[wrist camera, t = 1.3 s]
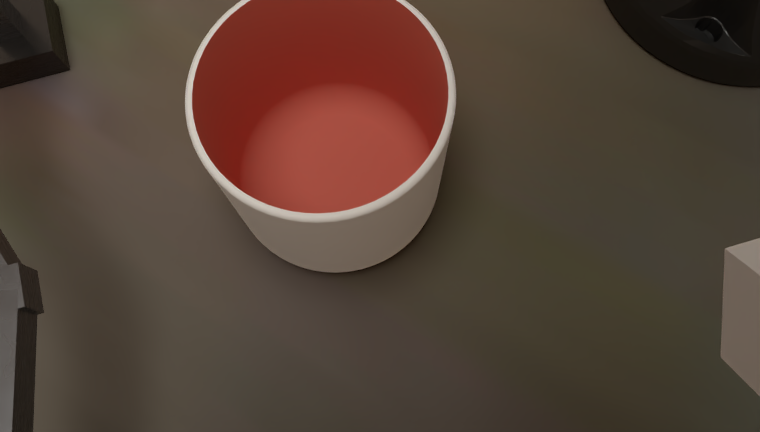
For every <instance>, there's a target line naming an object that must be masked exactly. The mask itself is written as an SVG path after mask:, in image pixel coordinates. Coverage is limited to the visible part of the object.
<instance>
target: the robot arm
mask: <svg viewBox="0 0 760 432" xmlns="http://www.w3.org/2000/svg"><path fill="white" fill-rule="evenodd" d="M605 1H606V3H607V5H608V6H609V8H610V10H611V11H612V13H613V15H614V16H615V17H616V19H617V20H618V22H619V23H620V24H621V25H622V27H623V28H624V29H625V30H626V31H627V32H628V33H629V34H630V36H631V37H632V38H633V39H635V40H636V41H637V42H638V43H639V44H640V45H641V46H642V47H644V48H645V49H646V50H647V51H649V52H650V53H651V54H653V55H654V56H656V57H657V58H659V59H660V60H662V61H664V62H665V63H667V64H669V65H671V66H673V67H674V68H676V69H679V70H681V71H683V72H685V73H688V74H690V75H693V76H696V77H699V78H702V79H705V80H709V81H713V82H717V83H722V84H728V85H737V86H760V0H605ZM721 358H722V359H723V360H724V361H725V362H726V363H727V364H728V365H729V366H730V367H731V368H732V369H733V370H734V371H735V372H736V373H737V374H738V375H739V376H740V377H741V378H742V379H743V380H744V381H745V382H746V383H747V384H748V385H749V386H750V387H751V388H752V389H753V390H754V391H755V392H756V393H757V394H758V395H759V396H760V238H758V239H755V240H752V241H748V242H745V243H741V244H738V245H735V246H731V247H728V248H725V257H724V282H723V307H722V333H721Z"/></svg>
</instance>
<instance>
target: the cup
mask: <svg viewBox="0 0 760 432" xmlns="http://www.w3.org/2000/svg"><path fill="white" fill-rule="evenodd" d="M455 108H456V83H455V76H454V71H453V67H452V64H451V60H450V58H449V55H448V52H447V50H446V48H445V46H444V44H443V42H442V40H441V38H440V37H439V35H438V33H437V32H436V30H435V29H434V28H433V26H432V25H431V24H430V23H429V21H428V20H427V19H426V18H425V17H424V16H423V15H422V14H421V13H420V12H419V11H418V10H417V9H416V8H415V7H413V6H412V5H411V4H409V3H408V2H407V1H405V0H241V1H240V2H238V3H237V4H236V5H235V6H233V7H232V8H231V9H230V10H228V11H227V12H226V13H225V14H224V15H223V16H222V17H221V18H220V19H219V20H218V21H217V22H216V24H215V25H214V26H213V27H212V28H211V29H210V31H209V32H208V34H207V35H206V37H205V38H204V40H203V41H202V43H201V45H200V46H199V48H198V50H197V52H196V55H195V57H194V59H193V62H192V65H191V67H190V71H189V75H188V79H187V84H186V92H185V114H186V121H187V126H188V130H189V134H190V137H191V140H192V143H193V146H194V148H195V150H196V152H197V154H198V156H199V158H200V160H201V162H202V163H203V165H204V166H205V168H206V169H207V171H208V172H209V173H210V175H211V176H212V178H213V179H214V180H215V182H216V183H217V185H218V186H219V187H220V189H221V190H222V191H223V193H224V194H225V196H226V197H227V198H228V200H229V201H230V202H231V204H232V205H233V207H234V208H235V209H236V211H237V212H238V214H239V215H240V216H241V218H242V219H243V221H244V222H245V223H246V225H247V226H248V228H249V229H250V230H251V232H252V233H253V234H254V236H255V237H256V238H257V239H258V240H259V241H260V242H261V243H262V244H263V245H264V246H265V247H266V248H268V249H269V250H270V251H271V252H273V253H274V254H276V255H277V256H278V257H280V258H282V259H284V260H286V261H287V262H289V263H292V264H294V265H297V266H299V267H302V268H306V269H309V270H314V271H320V272H333V273H338V272H350V271H355V270H361V269H364V268H367V267H370V266H374V265H376V264H378V263H380V262H383V261H385V260H386V259H388V258H390V257H392V256H393V255H395V254H396V253H398V252H399V251H400V250H402V249H403V248H404V247H405V246H406V245H407V244H408V243H410V242H411V241H412V240H413V238H414V237H415V236H416V235H417V234H418V233H419V232H420V230H421V229H422V227H423V226H424V224H425V223H426V221H427V219H428V217H429V216H430V214H431V212H432V209H433V207H434V204H435V201H436V198H437V194H438V189H439V185H440V180H441V176H442V171H443V167H444V162H445V158H446V153H447V148H448V144H449V139H450V134H451V130H452V125H453V120H454V116H455Z"/></svg>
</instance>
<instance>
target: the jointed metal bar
mask: <svg viewBox="0 0 760 432" xmlns="http://www.w3.org/2000/svg"><path fill="white" fill-rule="evenodd" d="M67 70H70V68H69V63H68V57H67V52H66V47H65V41H64V36H63V31H62V25H61V20H60V15H59V9H58V6H57V5H56V3H55V2H54V1H53V0H0V88H2V87H6V86H10V85H14V84H18V83H21V82H25V81H29V80H33V79H37V78H41V77H44V76H48V75H52V74H56V73H60V72H63V71H67ZM41 313H44V310H43V304H42V297H41V291H40V285H39V278H38V272H37V270H34V269H32V268H30V267H27V266H25V265H23V264H22V263H21V262H20V260H19V258H18V257H17V255H16V254H15V252H14V250H13V249H12V247H11V245H10V244H9V242H8V241H7V239H6V237H5V236H4V234H3V233H2V231H1V229H0V432H33V417H34V390H35V363H36V336H37V315H38V314H41Z"/></svg>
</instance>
